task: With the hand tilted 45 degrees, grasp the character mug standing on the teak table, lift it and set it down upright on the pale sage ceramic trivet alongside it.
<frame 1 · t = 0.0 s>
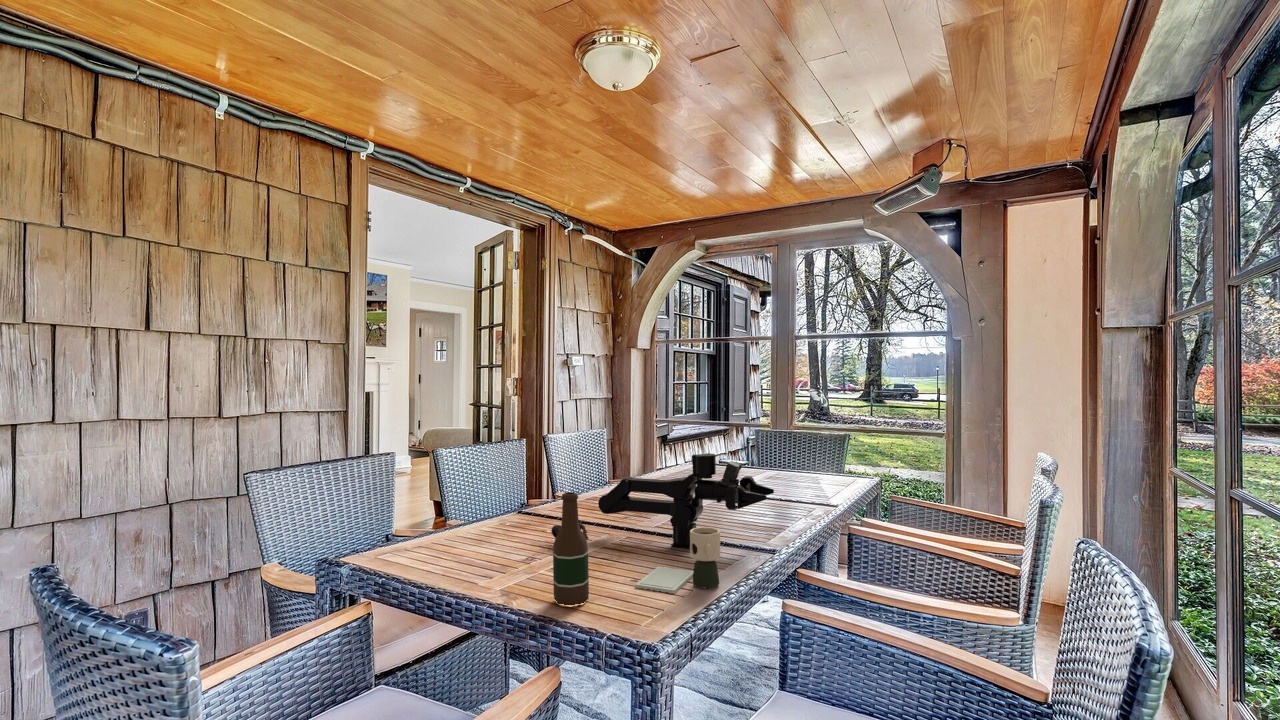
hand: (770, 494, 163), 17 cm above the table, tool horizontal, fingers open, 9 cm apart
beer bottle: (571, 602, 132), on the table
pottery mug: (569, 547, 174), on the table
character mug: (706, 586, 140), on the table
trivet: (666, 581, 144), on the table
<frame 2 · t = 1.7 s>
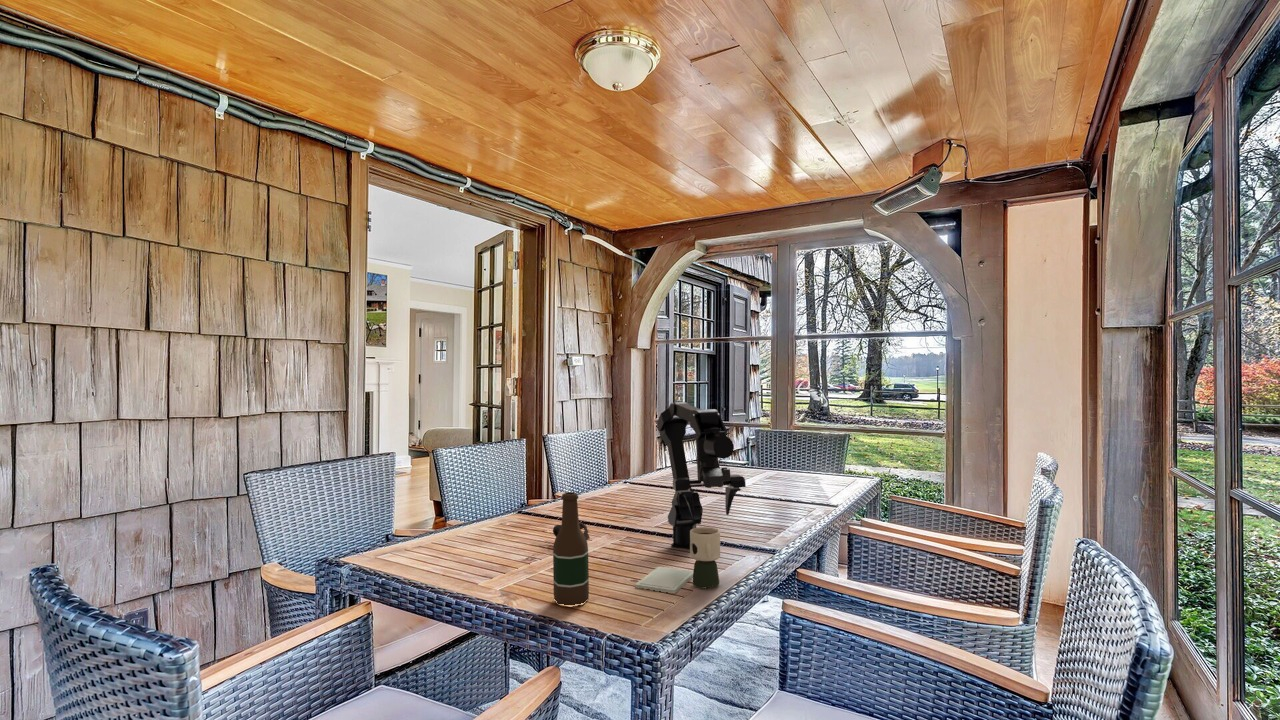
hand: (710, 515, 157), 12 cm above the table, tool pointing down, fingers open, 9 cm apart
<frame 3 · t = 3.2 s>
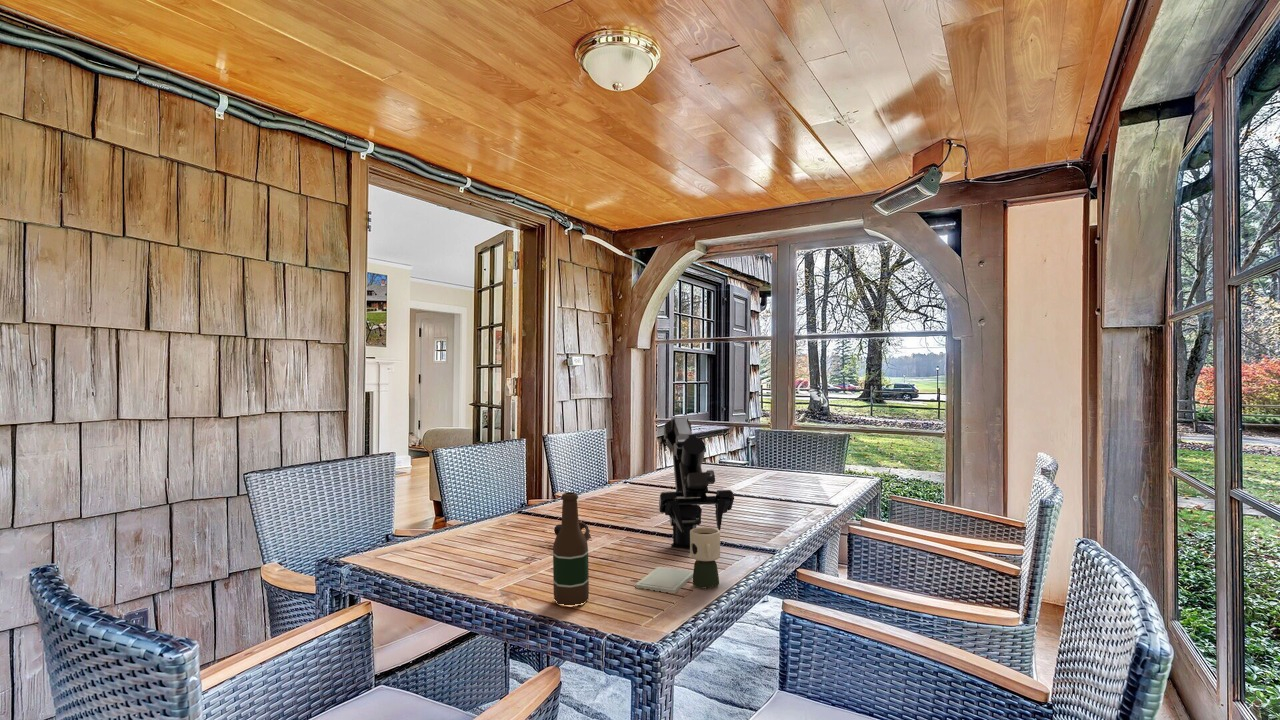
hand: (701, 530, 145), 12 cm above the table, tool tilted 45°, fingers open, 9 cm apart
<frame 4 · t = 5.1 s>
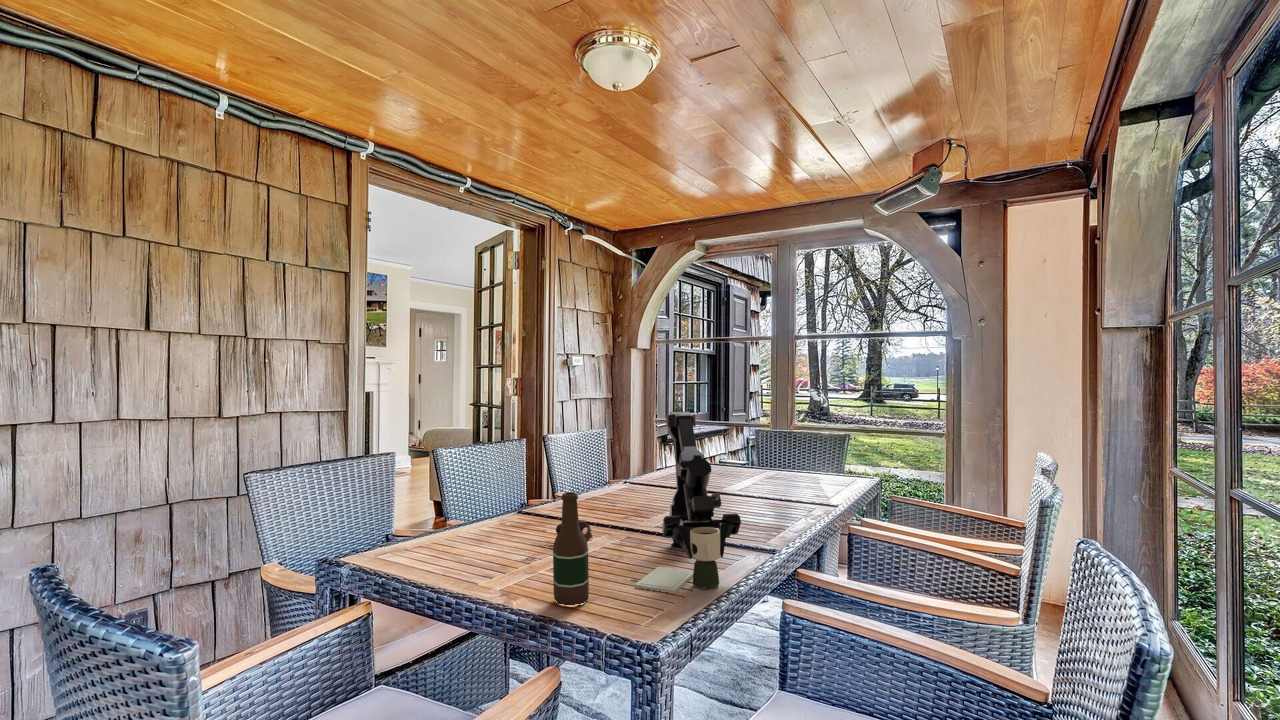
hand: (706, 557, 139), 7 cm above the table, tool tilted 45°, fingers closed on character mug, 7 cm apart
character mug: (706, 586, 140), on the table, touching gripper
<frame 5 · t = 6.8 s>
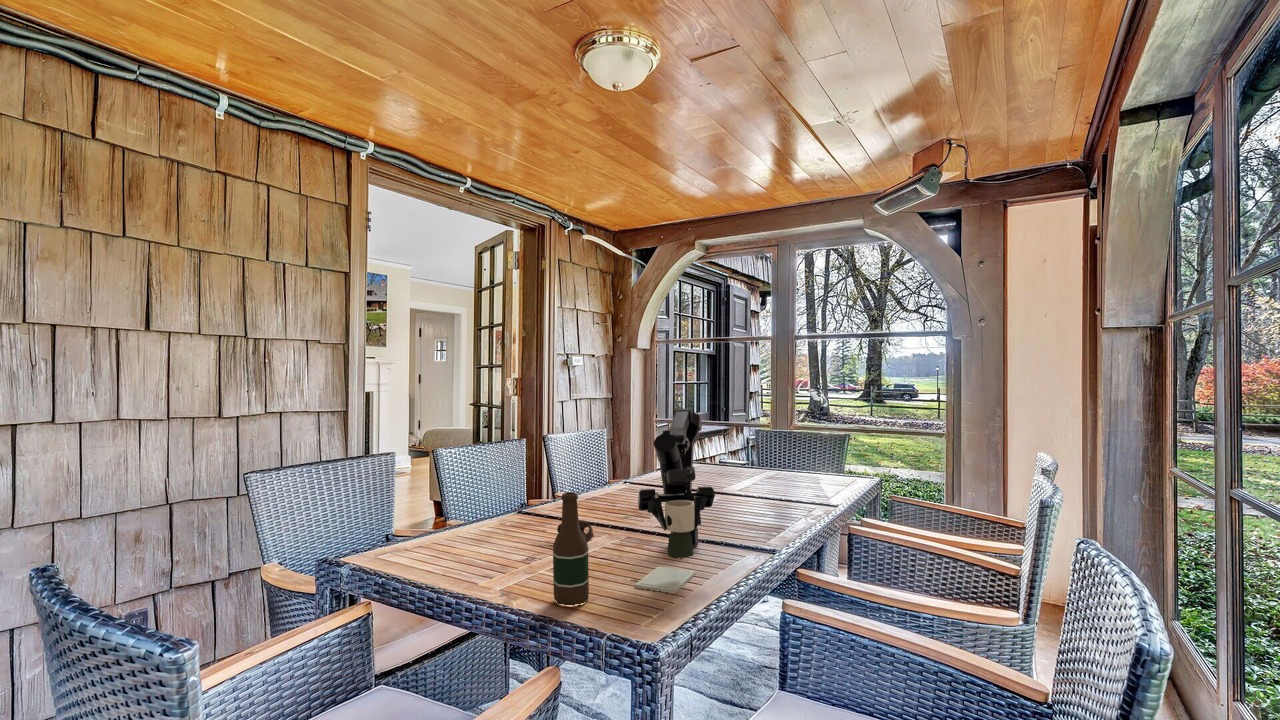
hand: (680, 528, 142), 13 cm above the table, tool tilted 45°, fingers closed on character mug, 7 cm apart
character mug: (680, 557, 143), point 6 cm above the table, touching gripper
when the fingers open (9 cm above the table, at t = 8.7 s): character mug stays where it is, resting on trivet.
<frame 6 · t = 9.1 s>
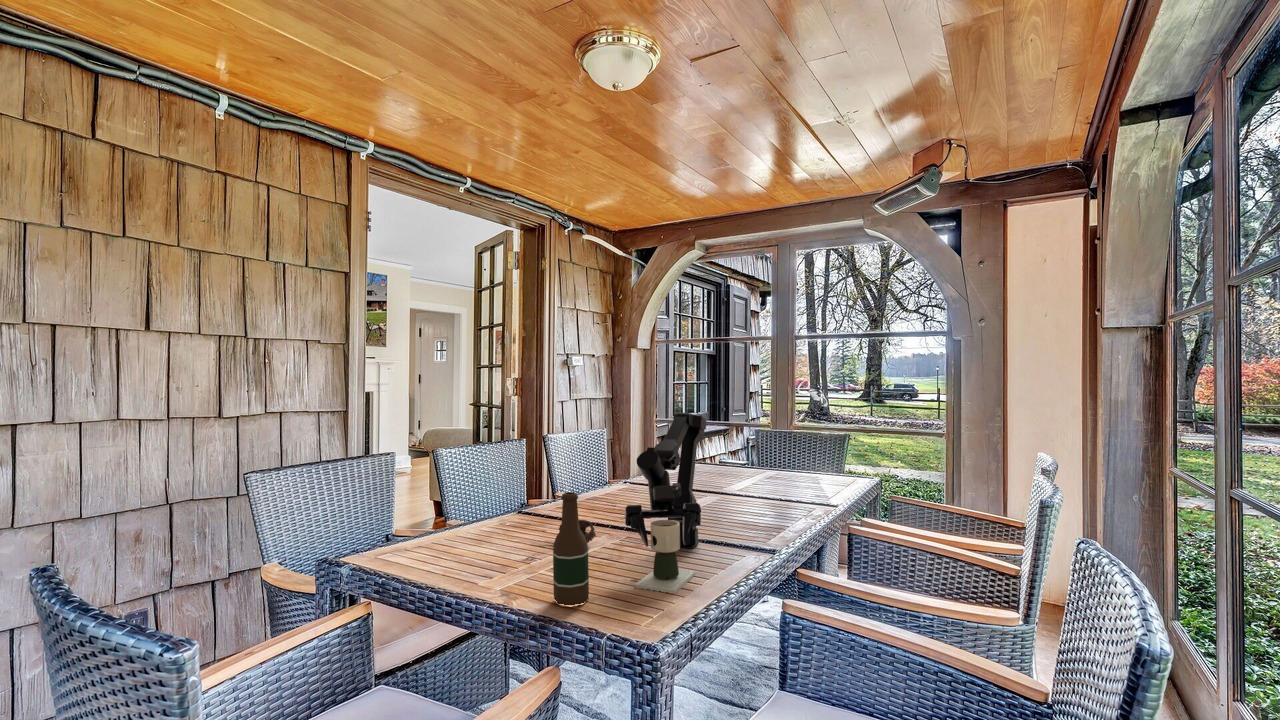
hand: (666, 545, 143), 9 cm above the table, tool tilted 45°, fingers open, 9 cm apart
character mug: (666, 577, 144), point 1 cm above the table, touching trivet
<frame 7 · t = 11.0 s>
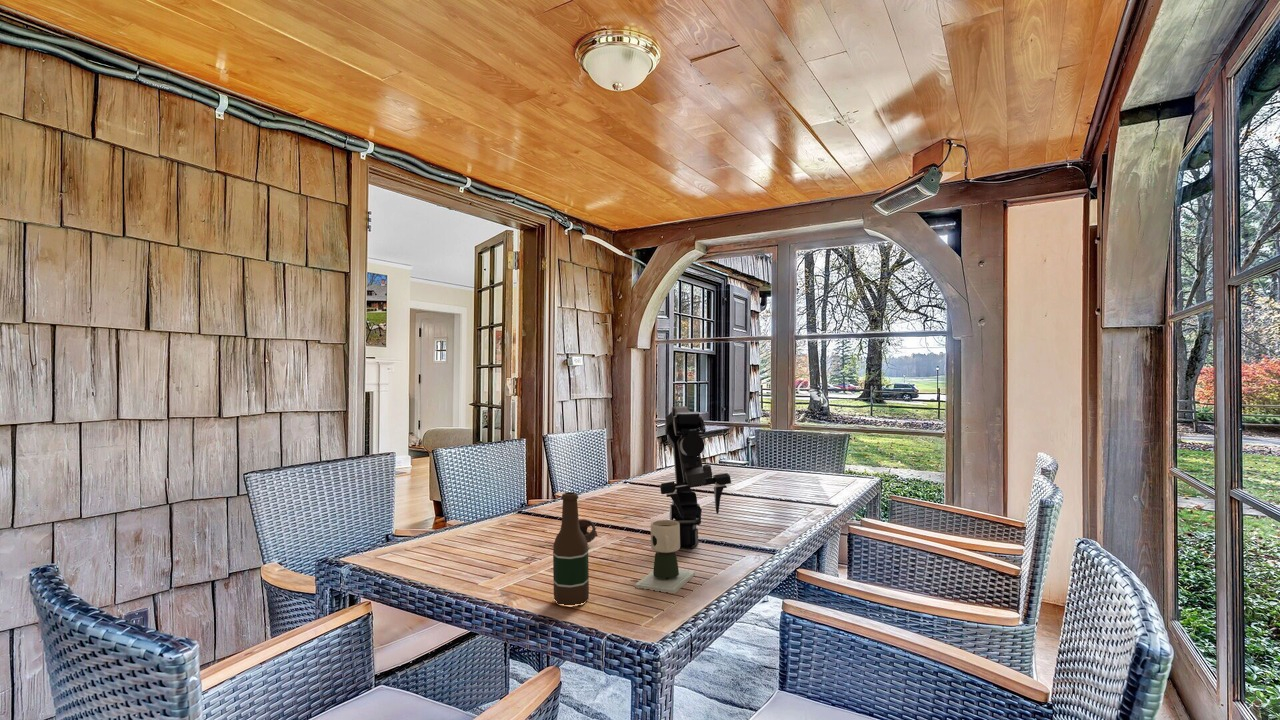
hand: (700, 516, 157), 12 cm above the table, tool pointing down, fingers open, 9 cm apart
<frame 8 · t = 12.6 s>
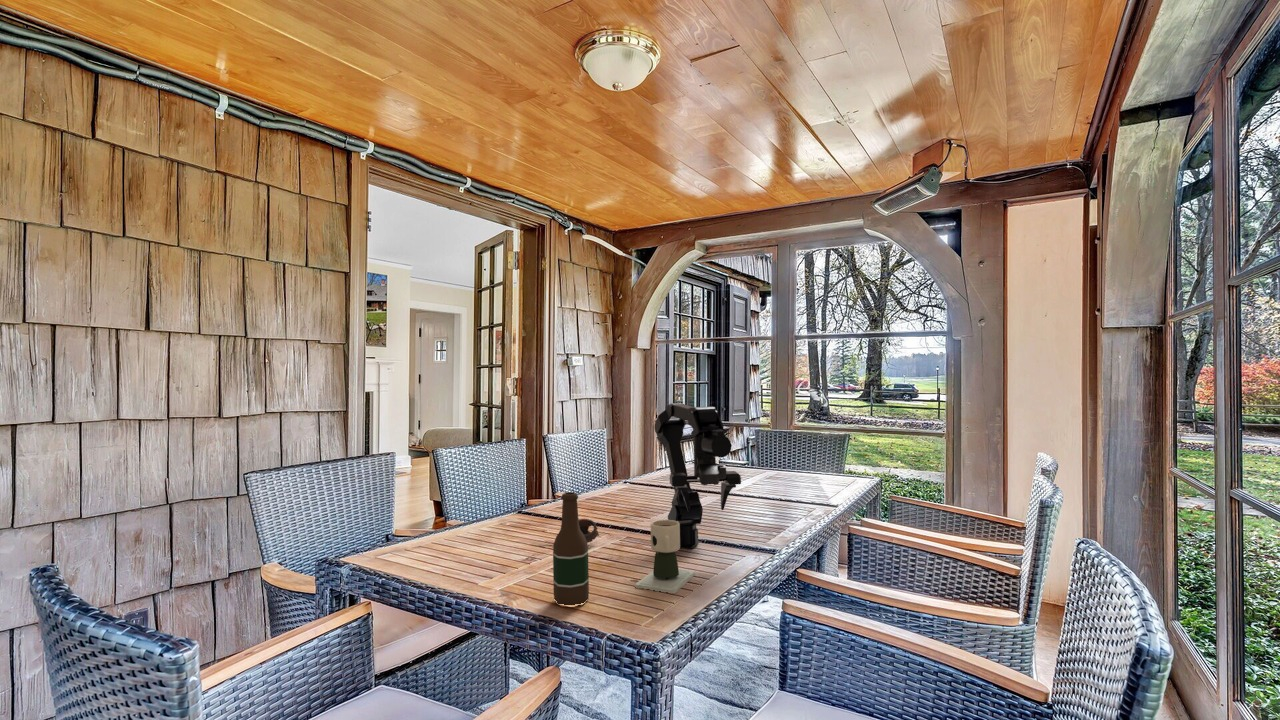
hand: (705, 510, 161), 13 cm above the table, tool pointing down, fingers open, 9 cm apart
at the end: character mug inside the target area on the trivet (0.1 cm from its centre), point 0.7 cm above the trivet's base; character mug tilted 0°; the gripper is holding nothing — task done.
